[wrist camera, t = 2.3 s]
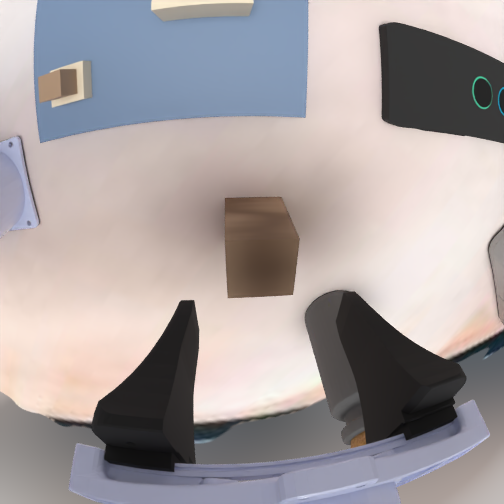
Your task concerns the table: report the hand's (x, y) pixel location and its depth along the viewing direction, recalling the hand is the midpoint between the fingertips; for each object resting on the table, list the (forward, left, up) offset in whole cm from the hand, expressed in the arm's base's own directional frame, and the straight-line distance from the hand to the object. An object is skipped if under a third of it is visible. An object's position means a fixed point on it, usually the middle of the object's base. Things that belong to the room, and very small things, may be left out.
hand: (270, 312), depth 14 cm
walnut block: (0, 0, -10) cm, 10 cm away
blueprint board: (-6, +16, -9) cm, 20 cm away
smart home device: (+19, +13, -10) cm, 25 cm away
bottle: (+8, -10, -10) cm, 16 cm away
